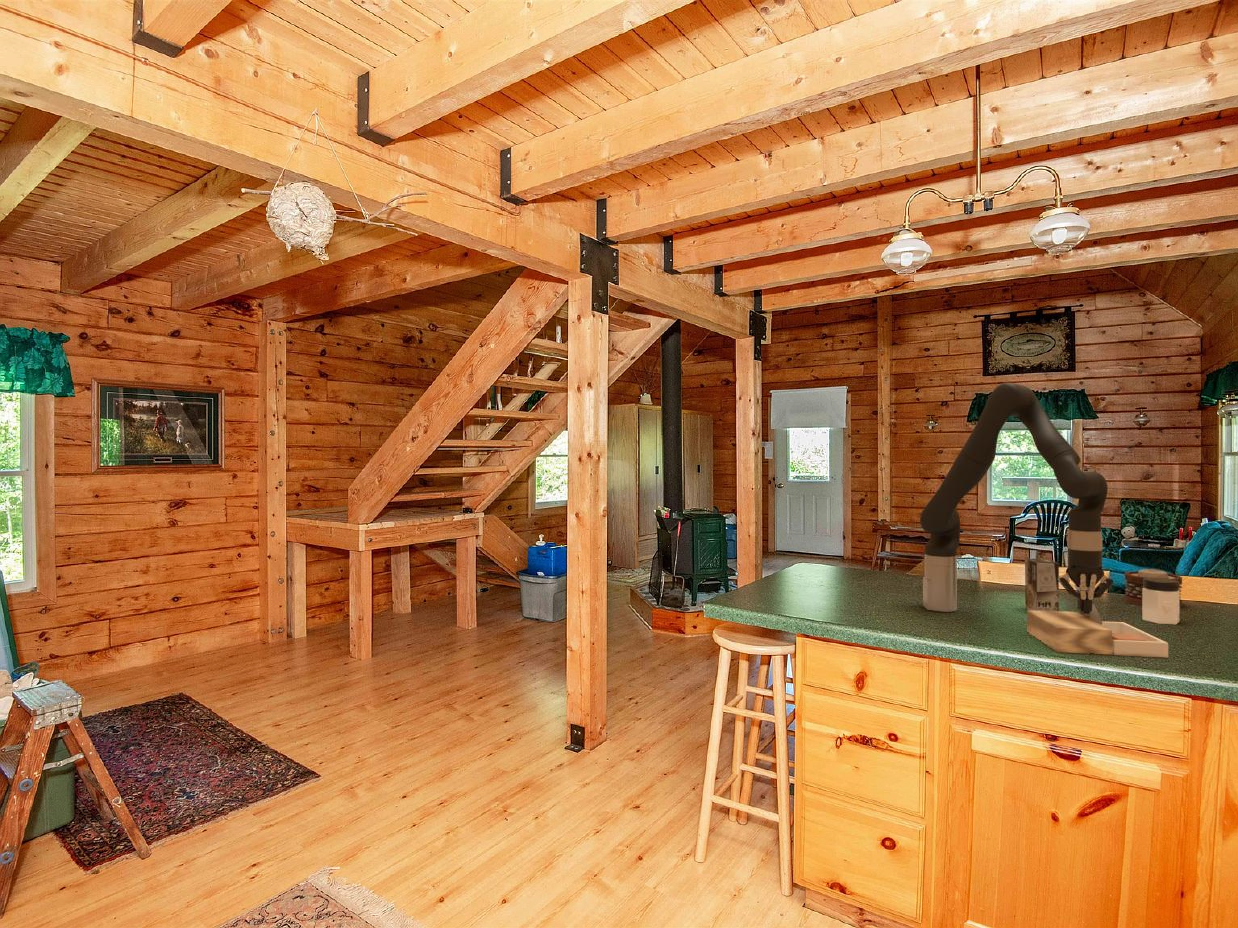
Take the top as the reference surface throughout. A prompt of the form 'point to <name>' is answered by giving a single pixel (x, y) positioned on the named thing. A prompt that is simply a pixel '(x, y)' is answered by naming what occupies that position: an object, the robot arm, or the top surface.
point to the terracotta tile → (1126, 637)
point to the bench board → (1069, 632)
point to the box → (1136, 642)
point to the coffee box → (1041, 585)
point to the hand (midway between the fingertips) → (1084, 612)
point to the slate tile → (1093, 615)
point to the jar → (1160, 600)
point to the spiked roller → (1136, 584)
